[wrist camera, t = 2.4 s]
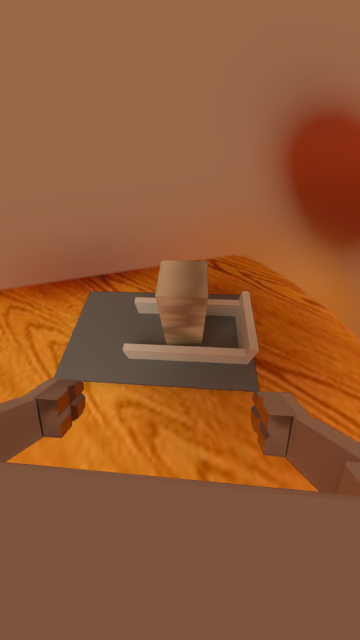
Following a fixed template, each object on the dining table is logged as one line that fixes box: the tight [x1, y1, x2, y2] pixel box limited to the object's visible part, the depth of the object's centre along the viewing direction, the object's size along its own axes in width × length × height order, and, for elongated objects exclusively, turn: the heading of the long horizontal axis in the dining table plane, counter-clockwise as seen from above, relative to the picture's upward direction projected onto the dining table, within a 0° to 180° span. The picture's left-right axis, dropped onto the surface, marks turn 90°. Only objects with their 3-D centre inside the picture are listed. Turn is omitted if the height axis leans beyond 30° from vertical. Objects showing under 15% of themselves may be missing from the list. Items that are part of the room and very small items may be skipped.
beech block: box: [155, 261, 208, 347], centre depth 24 cm, size 5×5×12 cm
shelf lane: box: [53, 291, 259, 392], centre depth 27 cm, size 28×16×6 cm, turn 86°
